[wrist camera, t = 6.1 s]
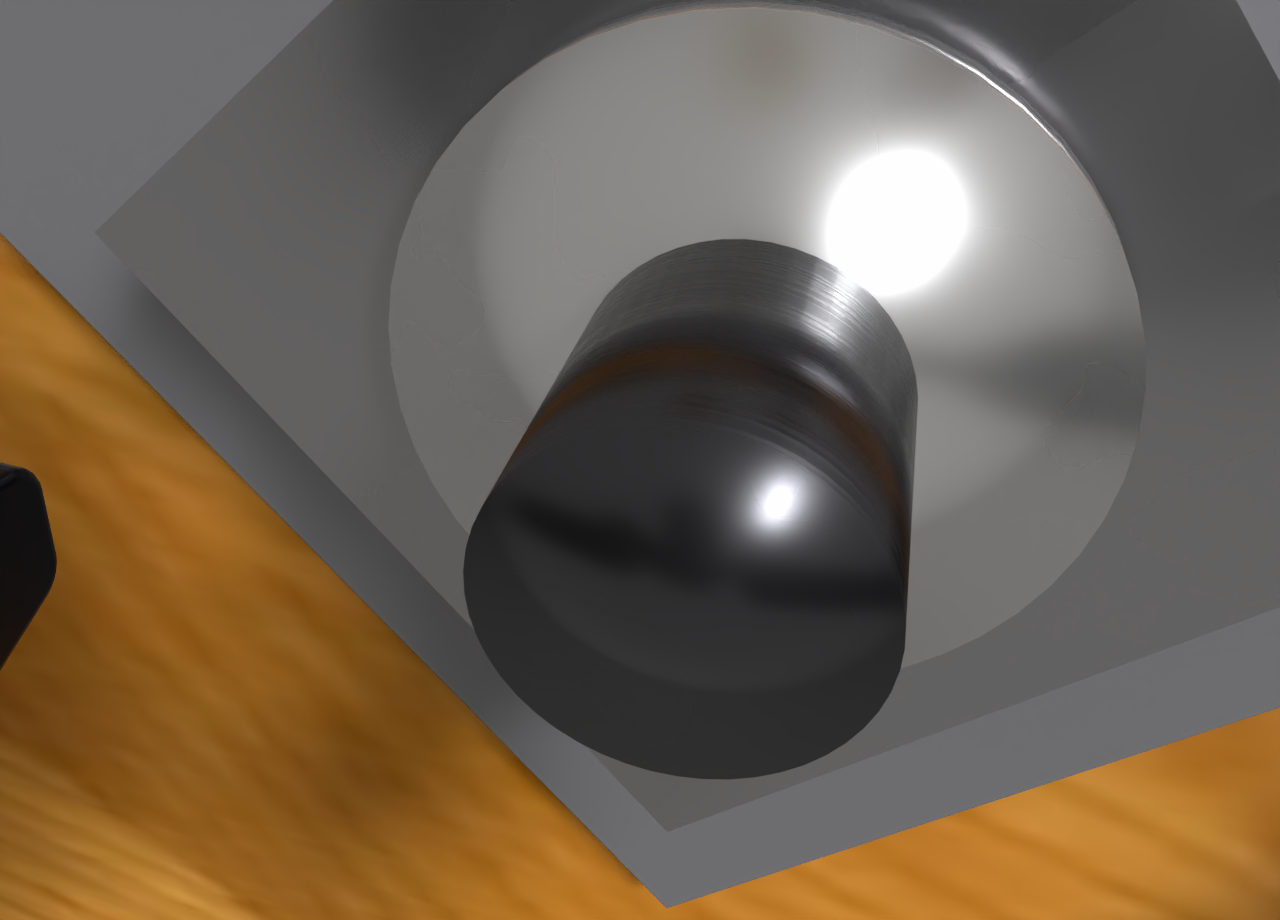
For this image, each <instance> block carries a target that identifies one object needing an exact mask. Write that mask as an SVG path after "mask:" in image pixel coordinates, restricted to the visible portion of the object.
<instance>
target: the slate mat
mask: <svg viewBox="0 0 1280 920" xmlns="http://www.w3.org/2000/svg"><path fill="white" fill-rule="evenodd" d="M332 1H333V0H0V233H1V234H2V235H3V236H4V237H5V238H6V239H7V240H8V241H9V242H10V243H11V244H12V245H13V246H14V247H15V248H16V249H17V250H18V251H19V252H20V253H21V254H22V255H23V256H24V257H25V258H26V259H27V260H28V261H29V262H30V264H31V265H32V266H33V267H34V268H35V269H36V270H37V271H38V272H39V273H40V274H41V275H42V276H43V277H44V278H45V279H46V280H47V281H48V282H49V283H50V284H51V285H52V286H53V287H54V288H55V289H56V290H57V291H58V292H59V293H60V294H61V295H62V296H63V297H64V298H65V299H66V300H67V301H68V302H69V303H70V304H71V305H72V306H73V307H74V308H75V309H76V310H77V311H78V312H79V313H80V314H81V315H82V316H83V317H84V318H85V319H86V320H87V321H88V322H89V323H90V324H91V325H92V326H93V327H94V328H95V329H96V330H97V331H98V332H99V333H100V334H101V335H102V336H103V337H104V339H105V340H106V341H107V342H108V343H109V344H110V345H111V346H112V347H113V348H114V349H115V350H116V351H117V352H118V353H119V354H120V355H121V356H122V357H123V358H124V359H125V360H126V361H127V362H128V363H129V364H130V365H131V366H132V367H133V368H134V369H135V370H136V371H137V372H138V373H139V374H140V375H141V376H142V377H143V378H144V379H145V380H146V381H147V382H148V383H149V384H150V385H151V386H152V387H153V388H154V389H155V390H156V391H157V392H158V393H159V394H160V395H161V396H162V397H163V398H164V399H165V400H166V401H167V402H168V403H169V404H170V405H171V406H172V407H173V408H174V409H175V410H176V411H177V413H178V414H179V415H180V416H181V417H182V418H183V419H184V420H185V421H186V422H187V423H188V424H189V425H190V426H191V427H192V428H193V429H194V430H195V431H196V432H197V433H198V434H199V435H200V436H201V437H202V438H203V439H204V440H205V441H206V442H207V443H208V444H209V445H210V446H211V447H212V448H213V449H214V450H215V451H216V452H217V453H218V454H219V455H220V456H221V457H222V458H223V459H224V460H225V461H226V462H227V463H228V464H229V465H230V466H231V467H232V468H233V469H234V470H235V471H236V472H237V473H238V474H239V475H240V476H241V477H242V478H243V479H244V480H245V481H246V482H247V483H248V484H249V485H250V486H251V488H252V489H253V490H254V491H255V492H256V493H257V494H258V495H259V496H260V497H261V498H262V499H263V500H264V501H265V502H266V503H267V504H268V505H269V506H270V507H271V508H272V509H273V510H274V511H275V512H276V513H277V514H278V515H279V516H280V517H281V518H282V519H283V520H284V521H285V522H286V523H287V524H288V525H289V526H290V527H291V528H292V529H293V530H294V531H295V532H296V533H297V534H298V535H299V536H300V537H301V538H302V539H303V540H304V541H305V542H306V543H307V544H308V545H309V546H310V547H311V548H312V549H313V550H314V551H315V552H316V553H317V554H318V555H319V556H320V557H321V558H322V559H323V560H324V561H325V563H326V564H327V565H328V566H329V567H330V568H331V569H332V570H333V571H334V572H335V573H336V574H337V575H338V576H339V577H340V578H341V579H342V580H343V581H344V582H345V583H346V584H347V585H348V586H349V587H350V588H351V589H352V590H353V591H354V592H355V593H356V594H357V595H358V596H359V597H360V598H361V599H362V600H363V601H364V602H365V603H366V604H367V605H368V606H369V607H370V608H371V609H372V610H373V611H374V612H375V613H376V614H377V615H378V616H379V617H380V618H381V619H382V620H383V621H384V622H385V623H386V624H387V625H388V626H389V627H390V628H391V629H392V630H393V631H394V632H395V633H396V634H397V635H398V637H399V638H400V639H401V640H402V641H403V642H404V643H405V644H406V645H407V646H408V647H409V648H410V649H411V650H412V651H413V652H414V653H415V654H416V655H417V656H418V657H419V658H420V659H421V660H422V661H423V662H424V663H425V664H426V665H427V666H428V667H429V668H430V669H431V670H432V671H433V672H434V673H435V674H436V675H437V676H438V677H439V678H440V679H441V680H442V681H443V682H444V683H445V684H446V685H447V686H448V687H449V688H450V689H451V690H452V691H453V692H454V693H455V694H456V695H457V696H458V697H459V698H460V699H461V700H462V701H463V702H464V703H465V704H466V705H467V706H468V707H469V708H470V709H471V710H472V712H473V713H474V714H475V715H476V716H477V717H478V718H479V719H480V720H481V721H482V722H483V723H484V724H485V725H486V726H487V727H488V728H489V729H490V730H491V731H492V732H493V733H494V734H495V735H496V736H497V737H498V738H499V739H500V740H501V741H502V742H503V743H504V744H505V745H506V746H507V747H508V748H509V749H510V750H511V751H512V752H513V753H514V754H515V755H516V756H517V757H518V758H519V759H520V760H521V761H522V762H523V763H524V764H525V765H526V766H527V767H528V768H529V769H530V770H531V771H532V772H533V773H534V774H535V775H536V776H537V777H538V778H539V779H540V780H541V781H542V782H543V783H544V784H545V785H546V787H547V788H548V789H549V790H550V791H551V792H552V793H553V794H554V795H555V796H556V797H557V798H558V799H559V800H560V801H561V802H562V803H563V804H564V805H565V806H566V807H567V808H568V809H569V810H570V811H571V812H572V813H573V814H574V815H575V816H576V817H577V818H578V819H579V820H580V821H581V822H582V823H583V824H584V825H585V826H586V827H587V828H588V829H589V830H590V831H591V832H592V833H593V834H594V835H595V836H596V837H597V838H598V839H599V840H600V841H601V842H602V843H603V844H604V845H605V846H606V847H607V848H608V849H609V850H610V851H611V852H612V853H613V854H614V855H615V856H616V857H617V858H618V859H619V860H620V862H621V863H622V864H623V865H624V866H625V867H626V868H627V869H628V870H629V871H630V872H631V873H632V874H633V875H634V876H635V877H636V878H637V879H638V880H639V881H640V882H641V883H642V884H643V885H644V886H645V887H646V888H647V889H648V890H649V891H650V892H651V893H652V894H653V895H654V896H655V897H656V898H657V899H658V900H659V901H660V902H661V903H662V904H663V905H664V906H665V907H666V908H669V907H672V906H675V905H678V904H681V903H684V902H687V901H690V900H693V899H696V898H699V897H702V896H705V895H708V894H711V893H714V892H717V891H720V890H724V889H727V888H730V887H733V886H736V885H739V884H742V883H745V882H748V881H751V880H754V879H757V878H760V877H763V876H766V875H769V874H772V873H775V872H779V871H782V870H785V869H788V868H791V867H794V866H797V865H800V864H803V863H806V862H809V861H812V860H815V859H818V858H821V857H824V856H827V855H830V854H833V853H837V852H840V851H843V850H846V849H849V848H852V847H855V846H858V845H861V844H864V843H867V842H870V841H873V840H876V839H879V838H882V837H885V836H888V835H892V834H895V833H898V832H901V831H904V830H907V829H910V828H913V827H916V826H919V825H922V824H925V823H928V822H931V821H934V820H937V819H940V818H943V817H947V816H950V815H953V814H956V813H959V812H962V811H965V810H968V809H971V808H974V807H977V806H980V805H983V804H986V803H989V802H992V801H995V800H998V799H1001V798H1005V797H1008V796H1011V795H1014V794H1017V793H1020V792H1023V791H1026V790H1029V789H1032V788H1035V787H1038V786H1041V785H1044V784H1047V783H1050V782H1053V781H1056V780H1060V779H1063V778H1066V777H1069V776H1072V775H1075V774H1078V773H1081V772H1084V771H1087V770H1090V769H1093V768H1096V767H1099V766H1102V765H1105V764H1108V763H1111V762H1115V761H1118V760H1121V759H1124V758H1127V757H1130V756H1133V755H1136V754H1139V753H1142V752H1145V751H1148V750H1151V749H1154V748H1157V747H1160V746H1163V745H1166V744H1169V743H1173V742H1176V741H1179V740H1182V739H1185V738H1188V737H1191V736H1194V735H1197V734H1200V733H1203V732H1206V731H1209V730H1212V729H1215V728H1218V727H1221V726H1224V725H1228V724H1231V723H1234V722H1237V721H1240V720H1243V719H1246V718H1249V717H1252V716H1255V715H1258V714H1261V713H1264V712H1267V711H1270V710H1273V709H1276V708H1279V707H1280V607H1279V608H1276V609H1273V610H1271V611H1268V612H1265V613H1262V614H1260V615H1257V616H1254V617H1251V618H1249V619H1246V620H1243V621H1241V622H1238V623H1235V624H1232V625H1230V626H1227V627H1224V628H1222V629H1219V630H1216V631H1213V632H1211V633H1208V634H1205V635H1202V636H1200V637H1197V638H1194V639H1192V640H1189V641H1186V642H1183V643H1181V644H1178V645H1175V646H1172V647H1170V648H1167V649H1164V650H1162V651H1159V652H1156V653H1153V654H1151V655H1148V656H1145V657H1143V658H1140V659H1137V660H1134V661H1132V662H1129V663H1126V664H1123V665H1121V666H1118V667H1115V668H1113V669H1110V670H1107V671H1104V672H1102V673H1099V674H1096V675H1093V676H1091V677H1088V678H1085V679H1083V680H1080V681H1077V682H1074V683H1072V684H1069V685H1066V686H1064V687H1061V688H1058V689H1055V690H1053V691H1050V692H1047V693H1044V694H1042V695H1039V696H1036V697H1034V698H1031V699H1028V700H1025V701H1023V702H1020V703H1017V704H1015V705H1012V706H1009V707H1006V708H1004V709H1001V710H998V711H995V712H993V713H990V714H987V715H985V716H982V717H979V718H976V719H974V720H971V721H968V722H965V723H963V724H960V725H957V726H955V727H952V728H949V729H946V730H944V731H941V732H938V733H936V734H933V735H930V736H927V737H925V738H922V739H919V740H916V741H914V742H911V743H908V744H906V745H903V746H900V747H897V748H895V749H892V750H889V751H886V752H884V753H881V754H878V755H876V756H873V757H870V758H867V759H865V760H862V761H859V762H857V763H854V764H851V765H848V766H846V767H843V768H840V769H837V770H835V771H832V772H829V773H827V774H824V775H821V776H818V777H816V778H813V779H810V780H808V781H805V782H802V783H799V784H797V785H794V786H791V787H788V788H786V789H783V790H780V791H778V792H775V793H772V794H769V795H767V796H764V797H761V798H758V799H756V800H753V801H750V802H748V803H745V804H742V805H739V806H737V807H734V808H731V809H729V810H726V811H723V812H720V813H718V814H715V815H712V816H709V817H707V818H704V819H701V820H699V821H696V822H693V823H690V824H688V825H685V826H682V827H679V828H677V829H674V830H671V831H669V832H667V831H666V830H665V829H664V828H663V827H662V826H661V825H660V824H659V823H658V822H657V821H656V820H655V819H654V818H653V817H652V815H651V814H650V813H649V812H648V811H647V810H646V809H645V808H644V807H643V806H642V805H641V804H640V803H639V802H638V801H637V800H636V799H635V798H634V797H633V796H632V795H631V794H630V792H629V791H628V790H627V789H626V788H625V787H624V786H623V785H622V784H621V783H620V782H619V781H618V780H617V779H616V778H615V777H614V776H613V775H612V774H611V773H610V772H609V770H608V769H607V768H606V767H605V766H604V765H603V764H602V763H601V762H600V761H599V760H598V759H597V758H596V757H595V756H594V755H593V754H592V753H591V752H590V751H589V750H588V749H587V747H586V746H585V745H583V744H581V743H579V742H577V741H575V740H574V739H572V738H570V737H569V736H567V735H566V734H564V733H562V732H561V731H559V730H558V729H556V728H555V727H553V726H552V725H551V724H549V723H548V722H547V721H546V720H544V719H543V718H542V717H540V716H539V715H538V714H536V713H535V712H534V711H533V710H532V709H531V708H530V707H529V706H528V705H527V704H526V703H524V702H523V701H522V700H521V699H520V698H519V697H518V696H517V695H516V694H515V693H514V691H513V690H512V689H511V688H510V687H509V686H508V685H507V683H506V682H505V681H504V680H503V679H502V678H501V676H500V675H499V673H498V672H497V670H496V669H495V668H494V666H493V665H492V663H491V662H490V660H489V659H488V657H487V655H486V654H485V652H484V650H483V648H482V646H481V644H480V642H479V640H478V638H477V636H476V633H475V631H474V629H473V628H472V627H471V626H470V625H469V624H468V623H467V622H466V621H465V620H464V619H463V618H462V617H461V616H460V615H459V614H458V612H457V611H456V610H455V609H454V608H453V607H452V606H451V605H450V604H449V603H448V602H447V601H446V600H445V599H444V598H443V597H442V596H441V595H440V594H439V593H438V592H437V590H436V589H435V588H434V587H433V586H432V585H431V584H430V583H429V582H428V581H427V580H426V579H425V578H424V577H423V576H422V575H421V574H420V573H419V572H418V571H417V570H416V569H415V567H414V566H413V565H412V564H411V563H410V562H409V561H408V560H407V559H406V558H405V557H404V556H403V555H402V554H401V553H400V552H399V551H398V550H397V549H396V548H395V547H394V545H393V544H392V543H391V542H390V541H389V540H388V539H387V538H386V537H385V536H384V535H383V534H382V533H381V532H380V531H379V530H378V529H377V528H376V527H375V526H374V525H373V524H372V522H371V521H370V520H369V519H368V518H367V517H366V516H365V515H364V514H363V513H362V512H361V511H360V510H359V509H358V508H357V507H356V506H355V505H354V504H353V503H352V502H351V500H350V499H349V498H348V497H347V496H346V495H345V494H344V493H343V492H342V491H341V490H340V489H339V488H338V487H337V486H336V485H335V484H334V483H333V482H332V481H331V480H330V479H329V477H328V476H327V475H326V474H325V473H324V472H323V471H322V470H321V469H320V468H319V467H318V466H317V465H316V464H315V463H314V462H313V461H312V460H311V459H310V458H309V457H308V455H307V454H306V453H305V452H304V451H303V450H302V449H301V448H300V447H299V446H298V445H297V444H296V443H295V442H294V441H293V440H292V439H291V438H290V437H289V436H288V435H287V434H286V432H285V431H284V430H283V429H282V428H281V427H280V426H279V425H278V424H277V423H276V422H275V421H274V420H273V419H272V418H271V417H270V416H269V415H268V414H267V413H266V412H265V410H264V409H263V408H262V407H261V406H260V405H259V404H258V403H257V402H256V401H255V400H254V399H253V398H252V397H251V396H250V395H249V394H248V393H247V392H246V391H245V390H244V388H243V387H242V386H241V385H240V384H239V383H238V382H237V381H236V380H235V379H234V378H233V377H232V376H231V375H230V374H229V373H228V372H227V371H226V370H225V369H224V368H223V367H222V365H221V364H220V363H219V362H218V361H217V360H216V359H215V358H214V357H213V356H212V355H211V354H210V353H209V352H208V351H207V350H206V349H205V348H204V347H203V346H202V345H201V343H200V342H199V341H198V340H197V339H196V338H195V337H194V336H193V335H192V334H191V333H190V332H189V331H188V330H187V329H186V328H185V327H184V326H183V325H182V324H181V323H180V322H179V320H178V319H177V318H176V317H175V316H174V315H173V314H172V313H171V312H170V311H169V310H168V309H167V308H166V307H165V306H164V305H163V304H162V303H161V302H160V301H159V300H158V298H157V297H156V296H155V295H154V294H153V293H152V292H151V291H150V290H149V289H148V288H147V287H146V286H145V285H144V284H143V283H142V282H141V281H140V280H139V279H138V278H137V277H136V275H135V274H134V273H133V272H132V271H131V270H130V269H129V268H128V267H127V266H126V265H125V264H124V263H123V262H122V261H121V260H120V259H119V258H118V257H117V256H116V255H115V253H114V252H113V251H112V250H111V249H110V248H109V247H108V246H107V245H106V244H105V243H104V242H103V241H102V240H101V239H100V238H99V237H98V236H97V235H96V234H95V232H96V231H97V230H98V229H99V228H100V227H101V226H102V225H103V224H104V223H105V222H106V221H107V220H108V219H109V218H110V217H111V216H112V215H113V214H114V213H115V212H116V211H117V210H118V209H119V208H120V207H121V206H122V205H123V204H124V203H125V202H126V201H127V200H128V199H129V198H130V197H131V196H133V195H134V194H135V193H136V192H137V191H138V190H139V189H140V188H141V187H142V186H143V185H144V184H145V183H146V182H147V181H148V180H149V179H150V178H151V177H152V176H153V175H154V174H155V173H156V172H157V171H158V170H159V169H160V168H161V167H162V166H163V165H164V164H165V163H166V162H167V161H168V160H170V159H171V158H172V157H173V156H174V155H175V154H176V153H177V152H178V151H179V150H180V149H181V148H182V147H183V146H184V145H185V144H186V143H187V142H188V141H189V140H190V139H191V138H192V137H193V136H194V135H195V134H196V133H197V132H198V131H199V130H200V129H201V128H202V127H203V126H204V125H205V124H206V123H208V122H209V121H210V120H211V119H212V118H213V117H214V116H215V115H216V114H217V113H218V112H219V111H220V110H221V109H222V108H223V107H224V106H225V105H226V104H227V103H228V102H229V101H230V100H231V99H232V98H233V97H234V96H235V95H236V94H237V93H238V92H239V91H240V90H241V89H242V88H243V87H245V86H246V85H247V84H248V83H249V82H250V81H251V80H252V79H253V78H254V77H255V76H256V75H257V74H258V73H259V72H260V71H261V70H262V69H263V68H264V67H265V66H266V65H267V64H268V63H269V62H270V61H271V60H272V59H273V58H274V57H275V56H276V55H277V54H278V53H279V52H280V51H281V50H283V49H284V48H285V47H286V46H287V45H288V44H289V43H290V42H291V41H292V40H293V39H294V38H295V37H296V36H297V35H298V34H299V33H300V32H301V31H302V30H303V29H304V28H305V27H306V26H307V25H308V24H309V23H310V22H311V21H312V20H313V19H314V18H315V17H316V16H317V15H318V14H320V13H321V12H322V11H323V10H324V9H325V8H326V7H327V6H328V5H329V4H330V3H331V2H332ZM1236 1H1237V3H1238V5H1239V6H1240V8H1241V10H1242V12H1243V14H1244V16H1245V18H1246V19H1247V21H1248V23H1249V25H1250V27H1251V29H1252V31H1253V32H1254V34H1255V36H1256V38H1257V40H1258V42H1259V44H1260V45H1261V47H1262V49H1263V51H1264V53H1265V55H1266V57H1267V58H1268V60H1269V62H1270V64H1271V66H1272V68H1273V70H1274V71H1275V73H1276V75H1277V77H1278V79H1279V81H1280V0H1236Z"/></svg>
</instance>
